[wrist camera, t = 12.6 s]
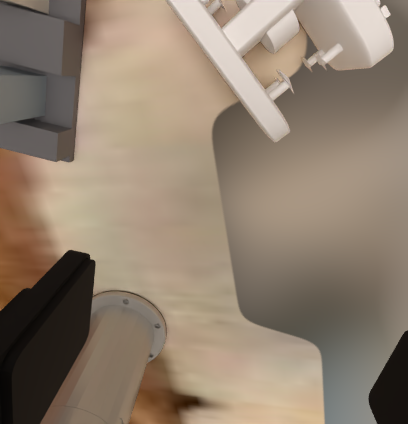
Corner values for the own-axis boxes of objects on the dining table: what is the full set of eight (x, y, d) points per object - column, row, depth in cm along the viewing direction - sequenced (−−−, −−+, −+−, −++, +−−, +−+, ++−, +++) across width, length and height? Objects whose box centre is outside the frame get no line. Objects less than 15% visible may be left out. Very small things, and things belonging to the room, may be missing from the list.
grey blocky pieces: (73, 160, 37) (55, 169, 34) (-12, 138, 37) (-39, 145, 34) (93, -90, 29) (72, -115, 25) (-19, -119, 28) (-56, -149, 25)
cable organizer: (168, 0, 31) (133, -41, 20) (260, -94, 28) (277, -205, 17) (262, 127, 34) (275, 149, 24) (352, 56, 31) (415, 44, 20)
